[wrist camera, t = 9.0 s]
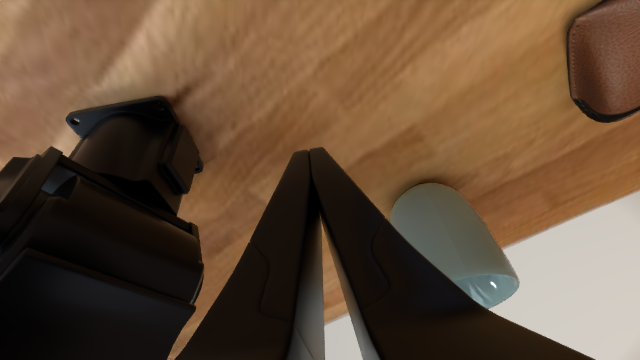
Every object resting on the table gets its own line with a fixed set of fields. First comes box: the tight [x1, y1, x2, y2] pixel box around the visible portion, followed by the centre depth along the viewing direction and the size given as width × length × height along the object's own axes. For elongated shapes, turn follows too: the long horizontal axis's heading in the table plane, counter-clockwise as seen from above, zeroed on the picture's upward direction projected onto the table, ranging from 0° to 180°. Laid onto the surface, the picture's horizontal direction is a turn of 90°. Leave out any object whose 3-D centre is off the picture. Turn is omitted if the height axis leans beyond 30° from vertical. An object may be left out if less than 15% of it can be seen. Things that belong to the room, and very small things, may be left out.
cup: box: [389, 183, 519, 309], centre depth 27 cm, size 8×8×10 cm
